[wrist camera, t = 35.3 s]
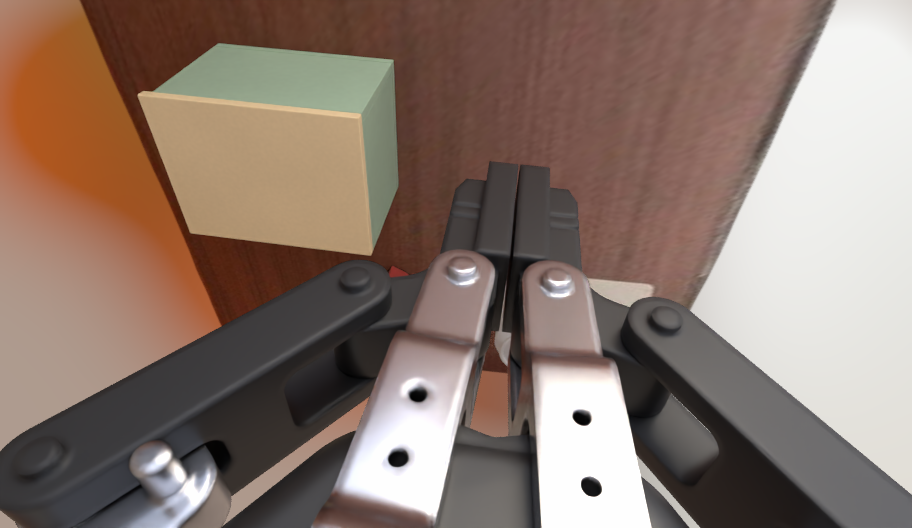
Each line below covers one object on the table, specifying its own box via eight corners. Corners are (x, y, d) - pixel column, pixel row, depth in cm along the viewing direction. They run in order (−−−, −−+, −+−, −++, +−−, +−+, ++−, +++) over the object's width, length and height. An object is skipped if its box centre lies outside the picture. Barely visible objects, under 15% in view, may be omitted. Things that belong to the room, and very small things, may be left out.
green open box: (250, 169, 57) (202, 229, 49) (218, 42, 48) (152, 91, 40) (398, 186, 56) (373, 250, 48) (393, 59, 47) (361, 112, 39)
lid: (194, 228, 49) (190, 233, 49) (142, 90, 40) (136, 94, 40) (373, 250, 48) (371, 256, 48) (361, 113, 39) (358, 118, 38)
